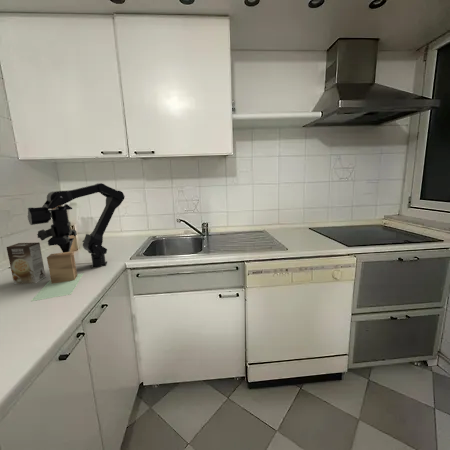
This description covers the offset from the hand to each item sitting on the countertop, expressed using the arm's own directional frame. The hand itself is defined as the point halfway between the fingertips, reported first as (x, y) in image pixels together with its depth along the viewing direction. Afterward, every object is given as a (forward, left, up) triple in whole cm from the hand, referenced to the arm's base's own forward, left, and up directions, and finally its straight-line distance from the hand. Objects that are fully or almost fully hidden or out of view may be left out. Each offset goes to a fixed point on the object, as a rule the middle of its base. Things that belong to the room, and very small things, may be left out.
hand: (66, 255), depth 104 cm
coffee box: (+2, -14, -9) cm, 17 cm away
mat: (+14, 0, -8) cm, 16 cm away
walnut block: (+8, 0, -8) cm, 11 cm away
